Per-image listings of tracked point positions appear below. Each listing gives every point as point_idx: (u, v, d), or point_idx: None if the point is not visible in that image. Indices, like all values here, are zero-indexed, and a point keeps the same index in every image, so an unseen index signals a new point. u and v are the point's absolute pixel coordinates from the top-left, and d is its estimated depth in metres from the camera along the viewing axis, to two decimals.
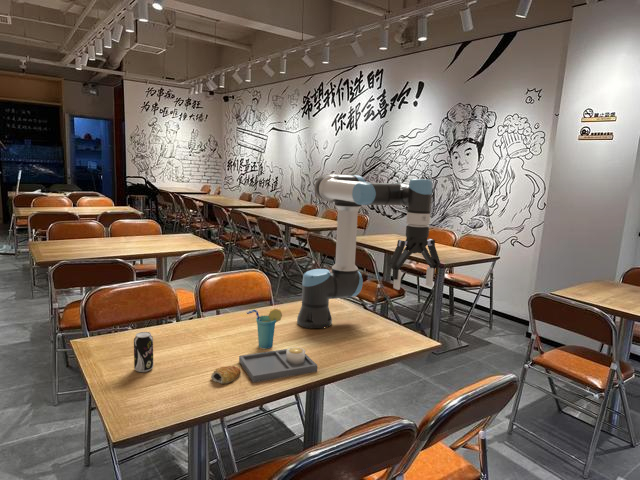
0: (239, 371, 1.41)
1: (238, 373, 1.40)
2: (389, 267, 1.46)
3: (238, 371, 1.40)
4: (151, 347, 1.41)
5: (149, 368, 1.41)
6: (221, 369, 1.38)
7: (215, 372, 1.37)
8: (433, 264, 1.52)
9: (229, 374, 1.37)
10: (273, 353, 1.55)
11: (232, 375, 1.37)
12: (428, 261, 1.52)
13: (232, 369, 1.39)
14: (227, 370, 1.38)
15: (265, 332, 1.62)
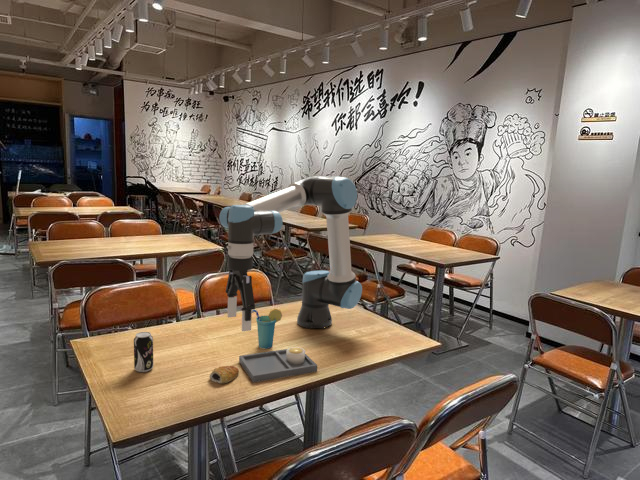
0: (237, 371, 1.41)
1: (236, 373, 1.40)
2: None
3: (236, 371, 1.41)
4: (151, 347, 1.41)
5: (149, 368, 1.41)
6: (219, 369, 1.38)
7: (213, 372, 1.37)
8: (243, 305, 1.30)
9: (227, 374, 1.37)
10: (273, 353, 1.55)
11: (231, 374, 1.37)
12: None
13: (230, 369, 1.39)
14: (225, 370, 1.38)
15: (265, 332, 1.62)
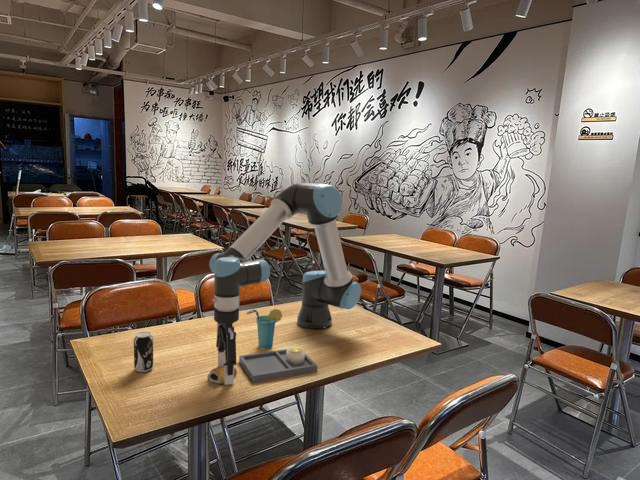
0: (235, 371, 1.41)
1: (234, 373, 1.40)
2: None
3: (234, 371, 1.40)
4: (151, 347, 1.41)
5: (149, 368, 1.41)
6: (217, 369, 1.38)
7: (211, 372, 1.36)
8: (226, 360, 1.33)
9: None
10: (273, 353, 1.55)
11: None
12: None
13: None
14: (223, 370, 1.37)
15: (265, 332, 1.62)
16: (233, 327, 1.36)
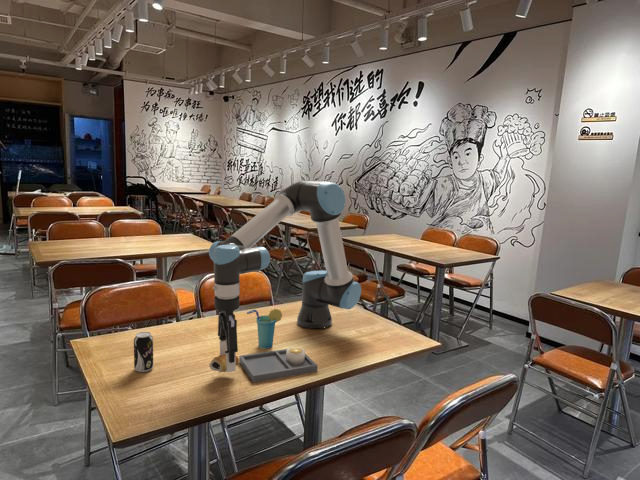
0: (237, 359, 1.41)
1: (236, 361, 1.40)
2: None
3: (236, 359, 1.40)
4: (151, 347, 1.41)
5: (149, 368, 1.41)
6: (219, 357, 1.37)
7: (213, 361, 1.36)
8: (227, 347, 1.33)
9: None
10: (273, 353, 1.55)
11: None
12: None
13: None
14: (225, 358, 1.37)
15: (265, 332, 1.62)
16: (234, 315, 1.36)
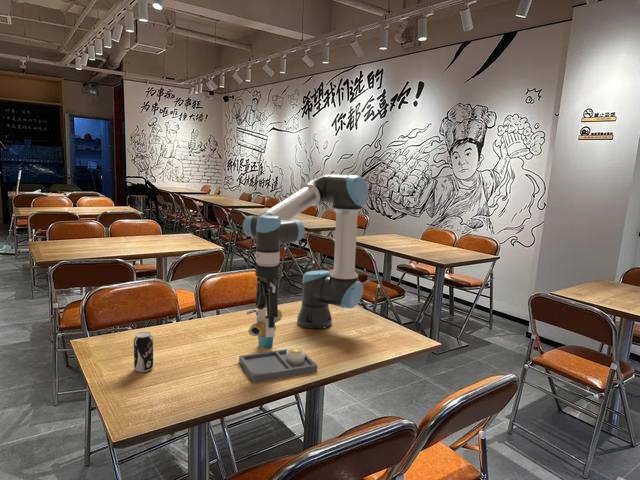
0: None
1: None
2: None
3: None
4: (151, 347, 1.41)
5: (149, 368, 1.41)
6: (258, 324, 1.43)
7: (253, 326, 1.42)
8: (267, 313, 1.39)
9: None
10: (273, 353, 1.55)
11: None
12: None
13: None
14: (264, 324, 1.43)
15: None
16: None
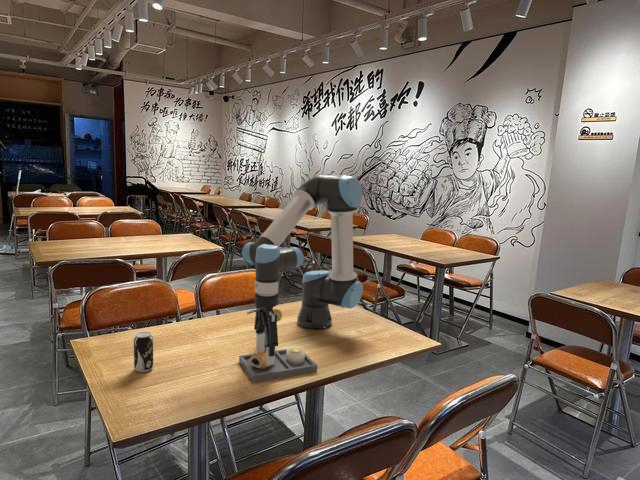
0: None
1: None
2: None
3: None
4: (151, 347, 1.41)
5: (149, 368, 1.41)
6: (259, 355, 1.45)
7: (253, 357, 1.44)
8: (267, 342, 1.40)
9: None
10: None
11: None
12: None
13: None
14: (265, 356, 1.45)
15: (265, 332, 1.62)
16: (273, 311, 1.43)
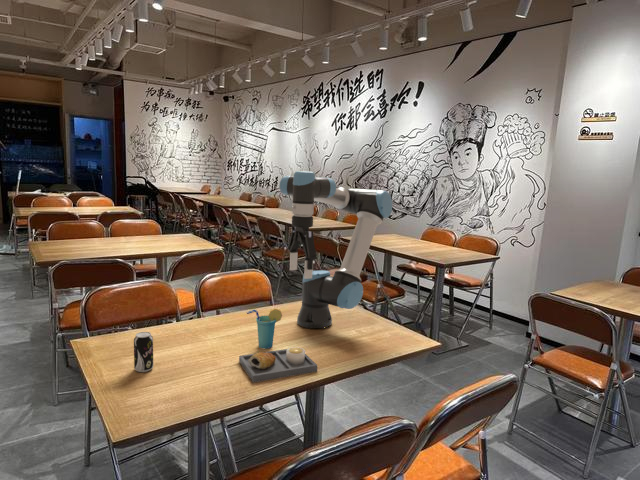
0: (274, 358, 1.48)
1: (274, 360, 1.47)
2: None
3: (274, 358, 1.48)
4: (151, 347, 1.41)
5: (149, 368, 1.41)
6: (259, 355, 1.45)
7: (253, 357, 1.44)
8: (306, 256, 1.52)
9: (266, 360, 1.44)
10: (273, 353, 1.55)
11: (269, 361, 1.44)
12: None
13: (269, 356, 1.46)
14: (265, 356, 1.45)
15: (265, 332, 1.62)
16: None
